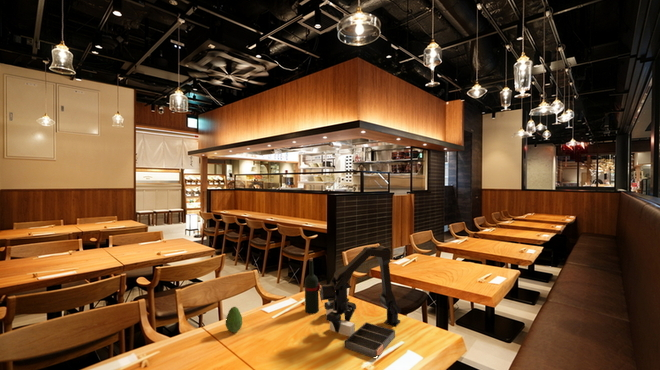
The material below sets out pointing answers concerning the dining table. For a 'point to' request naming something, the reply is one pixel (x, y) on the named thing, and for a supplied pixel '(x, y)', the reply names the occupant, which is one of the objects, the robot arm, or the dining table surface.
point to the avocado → (234, 320)
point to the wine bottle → (311, 291)
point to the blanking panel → (344, 328)
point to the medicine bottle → (330, 309)
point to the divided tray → (370, 339)
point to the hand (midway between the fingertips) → (342, 329)
